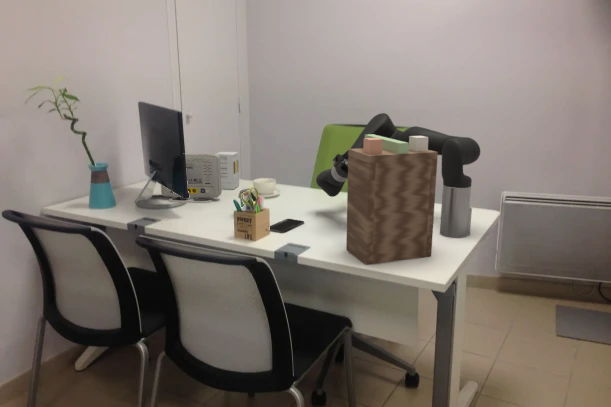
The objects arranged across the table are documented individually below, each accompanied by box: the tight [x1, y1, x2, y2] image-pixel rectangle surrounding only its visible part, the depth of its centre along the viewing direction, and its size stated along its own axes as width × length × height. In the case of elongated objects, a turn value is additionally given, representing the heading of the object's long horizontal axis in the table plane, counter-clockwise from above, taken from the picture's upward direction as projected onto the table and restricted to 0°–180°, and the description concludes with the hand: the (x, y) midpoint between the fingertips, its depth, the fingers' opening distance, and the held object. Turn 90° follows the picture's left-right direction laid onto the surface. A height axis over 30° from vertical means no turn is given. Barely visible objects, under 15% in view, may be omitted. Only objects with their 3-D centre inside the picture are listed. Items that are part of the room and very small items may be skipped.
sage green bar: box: [365, 134, 409, 154], centre depth 161 cm, size 3×22×3 cm, turn 20°
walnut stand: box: [345, 148, 439, 266], centre depth 161 cm, size 22×14×32 cm, turn 110°
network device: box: [160, 153, 222, 204], centre depth 229 cm, size 26×9×20 cm, turn 84°
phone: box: [269, 218, 305, 234], centre depth 192 cm, size 8×1×15 cm
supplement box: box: [216, 151, 240, 190], centre depth 254 cm, size 10×9×17 cm
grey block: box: [409, 136, 428, 151], centre depth 157 cm, size 4×4×4 cm
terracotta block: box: [363, 138, 383, 154], centre depth 152 cm, size 4×4×4 cm
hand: (362, 151), depth 176 cm, fingers open, 8 cm apart
